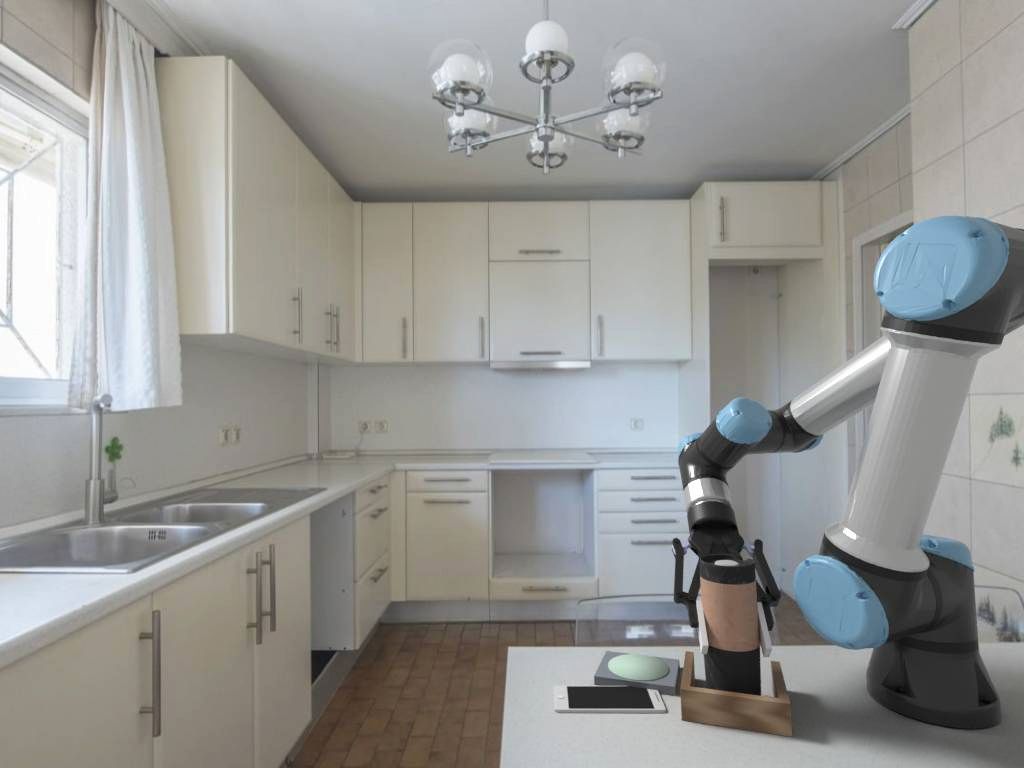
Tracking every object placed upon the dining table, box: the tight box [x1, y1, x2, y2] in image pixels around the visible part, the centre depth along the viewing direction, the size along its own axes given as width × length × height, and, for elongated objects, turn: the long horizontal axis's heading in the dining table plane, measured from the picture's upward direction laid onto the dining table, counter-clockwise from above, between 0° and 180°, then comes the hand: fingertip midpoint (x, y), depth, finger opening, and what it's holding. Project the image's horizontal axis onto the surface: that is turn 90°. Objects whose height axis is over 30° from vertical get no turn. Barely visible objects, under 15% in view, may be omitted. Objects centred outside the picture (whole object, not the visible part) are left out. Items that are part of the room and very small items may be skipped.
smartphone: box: [553, 685, 667, 714], centre depth 81 cm, size 7×16×1 cm, turn 87°
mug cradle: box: [679, 650, 793, 738], centre depth 79 cm, size 13×13×4 cm
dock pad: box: [593, 650, 681, 696], centre depth 89 cm, size 12×10×1 cm
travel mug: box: [700, 554, 762, 696], centre depth 80 cm, size 8×8×20 cm
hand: (736, 651), depth 76 cm, fingers closed on travel mug, 7 cm apart
